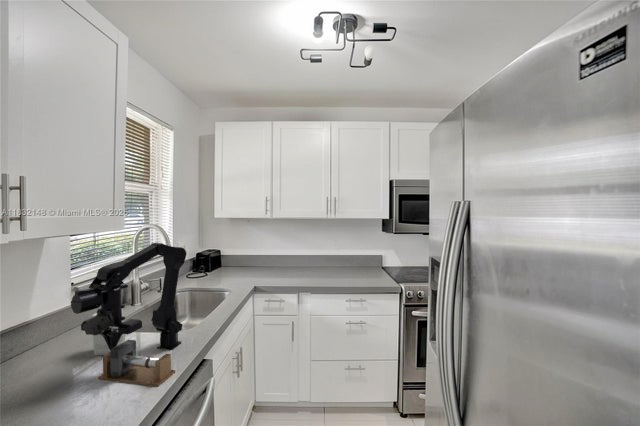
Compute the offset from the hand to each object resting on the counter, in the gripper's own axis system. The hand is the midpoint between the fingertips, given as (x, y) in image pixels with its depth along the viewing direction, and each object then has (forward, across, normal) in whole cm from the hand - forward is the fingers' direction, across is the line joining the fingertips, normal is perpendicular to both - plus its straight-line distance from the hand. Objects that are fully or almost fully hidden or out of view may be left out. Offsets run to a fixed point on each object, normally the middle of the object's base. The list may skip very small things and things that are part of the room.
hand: (112, 350), depth 101 cm
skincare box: (+8, -15, +13) cm, 21 cm away
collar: (+6, +4, 0) cm, 8 cm away
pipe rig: (+8, +9, 0) cm, 12 cm away
